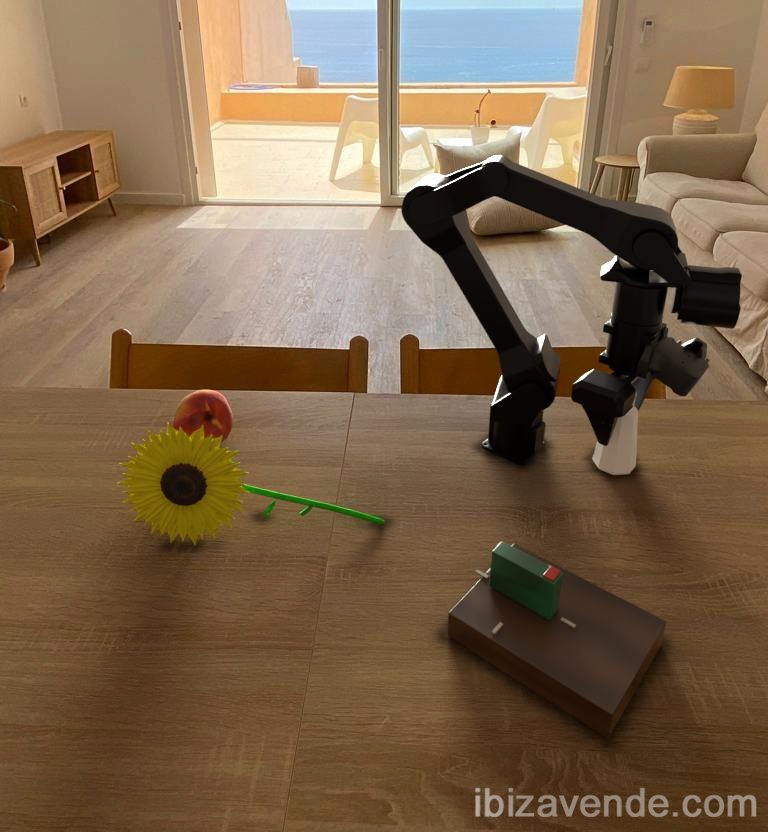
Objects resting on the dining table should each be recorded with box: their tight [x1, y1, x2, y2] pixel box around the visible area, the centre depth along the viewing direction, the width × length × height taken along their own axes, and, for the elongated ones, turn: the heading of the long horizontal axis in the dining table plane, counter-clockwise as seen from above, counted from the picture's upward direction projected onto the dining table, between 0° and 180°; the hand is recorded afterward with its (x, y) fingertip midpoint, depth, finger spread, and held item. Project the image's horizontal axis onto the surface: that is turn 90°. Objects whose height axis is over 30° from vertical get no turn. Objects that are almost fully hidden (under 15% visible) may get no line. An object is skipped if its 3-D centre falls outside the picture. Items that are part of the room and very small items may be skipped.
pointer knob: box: [490, 541, 563, 620], centre depth 65 cm, size 6×2×5 cm, turn 50°
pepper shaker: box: [591, 392, 639, 476], centre depth 88 cm, size 5×5×11 cm
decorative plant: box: [117, 421, 385, 546], centre depth 78 cm, size 15×6×30 cm
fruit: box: [172, 389, 234, 444], centre depth 94 cm, size 8×8×8 cm
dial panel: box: [447, 542, 667, 740], centre depth 65 cm, size 12×17×3 cm
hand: (618, 428), depth 88 cm, fingers open, 9 cm apart
